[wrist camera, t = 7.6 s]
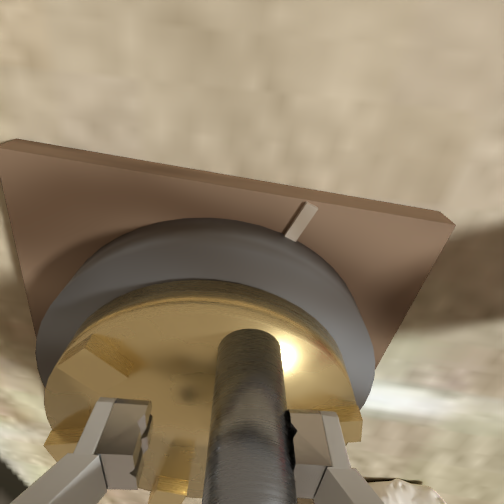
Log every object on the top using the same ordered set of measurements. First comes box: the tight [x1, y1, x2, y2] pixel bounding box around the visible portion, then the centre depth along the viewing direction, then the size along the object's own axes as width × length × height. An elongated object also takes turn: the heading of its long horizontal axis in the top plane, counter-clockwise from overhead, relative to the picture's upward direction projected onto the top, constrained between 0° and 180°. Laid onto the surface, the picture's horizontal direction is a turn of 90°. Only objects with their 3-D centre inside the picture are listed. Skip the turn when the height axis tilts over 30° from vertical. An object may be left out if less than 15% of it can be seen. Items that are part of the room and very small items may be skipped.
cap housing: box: [0, 139, 456, 410], centre depth 19 cm, size 20×20×4 cm
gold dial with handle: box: [44, 280, 363, 504], centre depth 13 cm, size 14×14×9 cm
